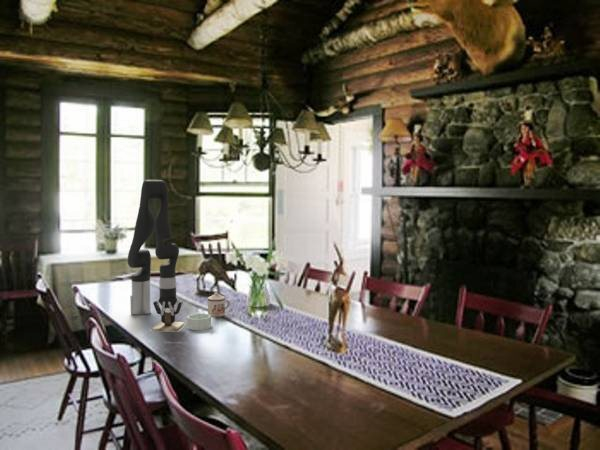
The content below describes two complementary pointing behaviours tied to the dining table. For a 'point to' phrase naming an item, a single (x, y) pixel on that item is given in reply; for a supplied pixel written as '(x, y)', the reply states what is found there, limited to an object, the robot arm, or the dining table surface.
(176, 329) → the cover
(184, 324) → the mat
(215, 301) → the teacup with lid
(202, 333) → the dining table surface
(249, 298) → the glass flower vase
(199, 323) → the bowl
